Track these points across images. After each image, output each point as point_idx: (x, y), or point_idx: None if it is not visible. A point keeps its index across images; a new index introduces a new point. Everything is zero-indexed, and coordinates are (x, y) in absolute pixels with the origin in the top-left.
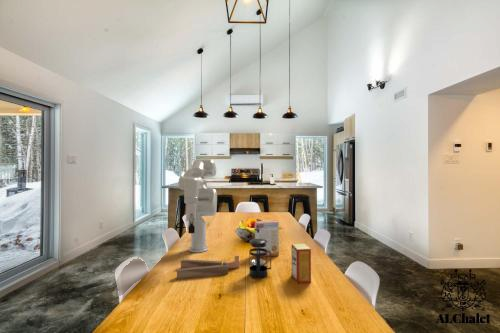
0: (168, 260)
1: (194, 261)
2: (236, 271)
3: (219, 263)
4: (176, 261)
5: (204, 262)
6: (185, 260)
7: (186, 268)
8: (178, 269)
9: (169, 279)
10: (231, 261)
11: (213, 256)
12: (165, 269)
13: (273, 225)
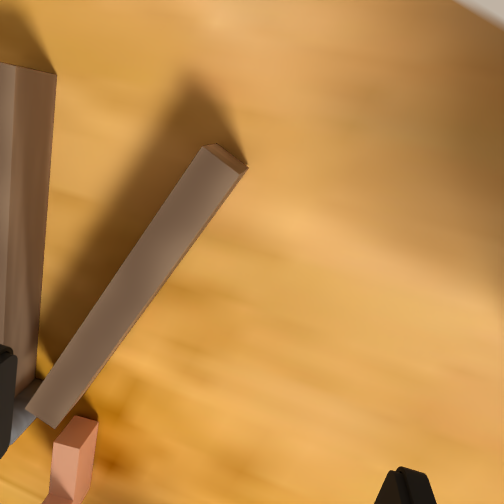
0: (498, 80)
1: (133, 254)
2: (24, 444)
3: (31, 400)
4: (420, 148)
5: (86, 317)
6: (193, 190)
7: (6, 148)
8: (5, 77)
9: (38, 9)
10: (69, 480)
11: (360, 445)
12: (265, 10)
13: None
